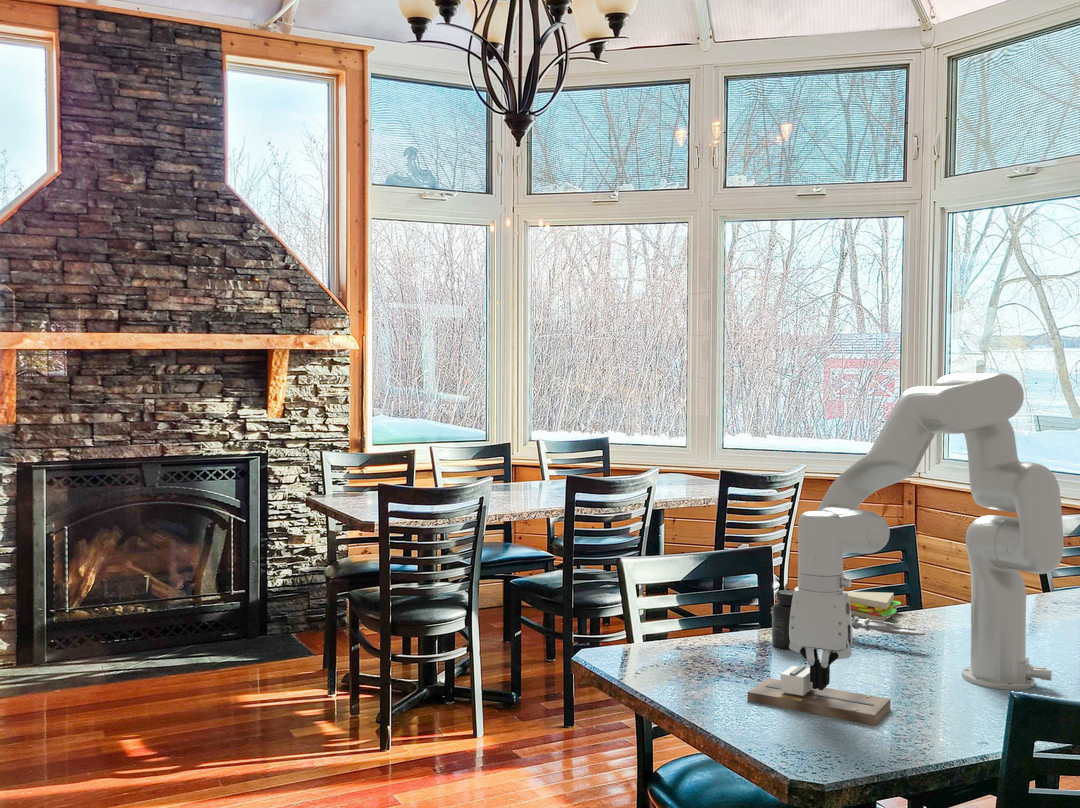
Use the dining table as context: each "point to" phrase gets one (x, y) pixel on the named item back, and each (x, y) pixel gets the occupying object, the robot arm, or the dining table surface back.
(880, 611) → the sandwich
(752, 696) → the fader track
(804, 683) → the fader knob
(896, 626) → the spaceship
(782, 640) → the supplement bottle
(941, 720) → the dining table surface
